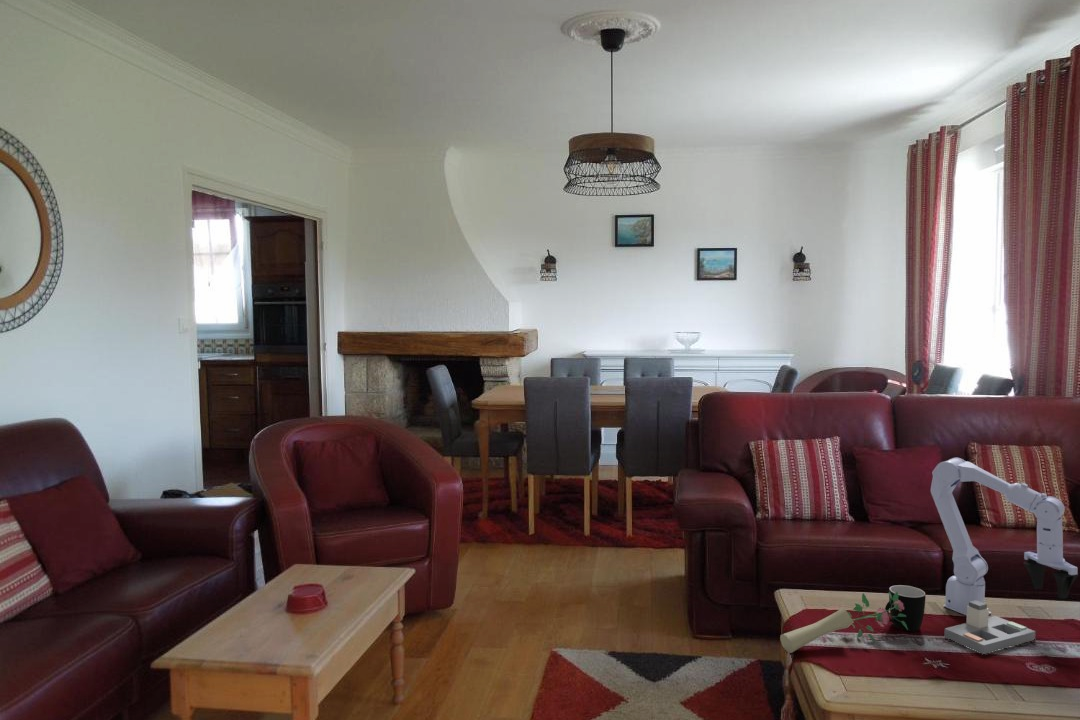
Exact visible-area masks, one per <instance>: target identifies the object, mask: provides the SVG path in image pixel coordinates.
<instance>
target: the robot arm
mask: <svg viewBox="0 0 1080 720" xmlns="http://www.w3.org/2000/svg"><path fill="white" fill-rule="evenodd" d="M931 474H932V478H931V479H932V480H931V485H930V495H931V497H932V500H933V501H934V504H935V507H936V509H937V512H938V514H939V517H940V520H941V522H942V525H943V528H944V530H945V532H946V535H947V538H948V540H949V542H950V545H951V548H952V551H953V552H952V562H953V574H954V575H952V576H950V577H949V578H948V579H947V582H946V584H945V604H943V607H944V608H946V609H949V610H952V611H954V612H957V613H959V614H962V615H964V616H966V617H967V606H969V602H971V601H975V600H978V601H980V602H983V603H985V598H986V597H985V595H986V594H985V593H986V581H985V578H984V576H985V575H986V574H987V573H988V570H989V566H988V562H987V561H986V560H985V559H984V558H983V557H982V555H981V554H980V551H979V549H978V548H976V547H975V546H974V545H973V543H972V540H971V538H970V535H969V533H968V530H967V527H966V525H965V522H964V520H963V517H962V515H961V512H960V510H959V507H958V504H957V502H956V499H955V497H954V495H953V491H954V490H955V488H956V487H957V485H958V484H959V483H960V482H961V483H963V482H965V483H966V482H976V483H978V484H980V485H982V486H985V487H987V488H989V489H991V490H993V491H996V492H998V493H1000V494H1002V495H1004V497H1005V499H1006V500H1007V502H1009V503H1011V504H1013V505H1015V506H1017V507H1019V508H1021V509H1024V510H1026V511H1028V512H1029V513H1032V514H1034V516H1035V518H1037V519H1036V522H1037V523H1036V552H1032V551H1025V552H1023V554H1024V555H1023V556H1024V557H1023V558H1024V559H1023V560H1027V561H1024V562H1023V566H1024V567H1025V569H1026V570H1027V572H1028V575H1029V577H1030V580H1031V583H1032V586H1033V589H1034V590H1042V589H1043V587H1044V574H1045V570H1046V568H1047V567H1048V568H1049V567H1050V568H1052V569H1055V570H1059V571H1054V572H1053V573H1052V574H1053V576H1054V578H1055V582H1056V587H1057V596H1058V599H1060V600H1064V599H1065V600H1066V599H1068V597H1069V593H1070V590H1071V588H1072V585H1073V584H1074V582H1075V581H1076V580H1077V578H1078V577H1079V573H1078V570H1079V569H1078V566H1075V565H1073V564H1071V563H1069V562H1067V561H1066V559H1065V558H1064V544H1063V543H1064V541H1063V538H1064V537H1063V536H1064V532H1063V531H1064V529H1063V518H1062V516H1064V514H1065V510H1066V508H1065V505H1064V503H1063V501H1061V500H1060V499H1059V498H1058V497H1056V496H1047V493H1044V492H1043V493H1041V492H1038V491H1036V490H1035V489H1031V488H1030V487H1029V485H1028V484H1027V483H1025V482H1023V483H1019V482H1015V483H1009V482H1008V481H1006V480H1004V479H1002V478H1000V477H998V476H996V475H995V474H992V473H991V472H989V471H987V470H984V469H983V468H981V467H979V466H978V465H976V464H974V463H972V462H971V461H968V460H967V461H966V460H964V458H960V457H952V458H949V459H948V460H945V461H941V462H939V463H937V464H936V466H935V468H934V469H933V470H932V472H931ZM991 614H992V611H989V615H991Z"/></svg>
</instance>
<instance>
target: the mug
mask: <svg viewBox="0 0 1080 720" xmlns="http://www.w3.org/2000/svg"><path fill="white" fill-rule="evenodd" d="M888 592H889V593H890V594H891V596H892V598H893V596H894V594H895V593H896V592H898V600H900V601H901V602H902V603H903V607H904V610H903V609H901V610H902V611H899V610H898V609H897V610H896V608H894V609H891V608H893V607H894V602H895V601H894V602H893V600H892V599H891V598H890V596H889V595H888V602H887V603H886V604H885V608H884V609H886V611H887V610H889V609H891V610H889V611H887V613H888V614H889V615H891V616H889V621H888V622H891V623H892V625H893V627H894V628H896V629H898V630H899V631H900V630H901V631H903V630H904V632H910V631H913V632H918V631H919V630H920V629H921V627H922V623H923V620H924V616H925V608H926V592H925V591H924V590H922V589H921V588H918V587H916V586H915V587H914V586H911V585H902V584H898V585H892V586H890V587H889V589H888ZM889 593H888V594H889ZM890 601H891V603H890ZM892 603H893V604H892ZM891 604H892V605H891ZM891 606H892V607H891ZM898 614H904V615H906V616H905V617H899V616H898ZM892 616H893V617H894V618H893V617H892ZM897 616H898V617H897ZM896 619H897V620H896ZM898 620H899V621H898ZM900 621H904V622H905V624H906V625H907V628H908V630H907V629H906V627H905V626H904V625H903V624H902V623H901V622H900Z"/></svg>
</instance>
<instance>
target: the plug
mask: <svg viewBox="0 0 1080 720" xmlns="http://www.w3.org/2000/svg"><path fill="white" fill-rule="evenodd" d="M989 609H990V608H988V603H985V602H984V603H983V602H980V601H978V600H975V601H971V602H969V606H967V616H966V623H967V624H969V625H972V626H974V627H977V628H983V627H987V626H988V617H990V616H989V615H990V614H989Z"/></svg>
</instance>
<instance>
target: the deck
mask: <svg viewBox="0 0 1080 720" xmlns="http://www.w3.org/2000/svg"><path fill="white" fill-rule="evenodd" d="M1005 632H1006V633H1005ZM1007 633H1009V634H1007ZM943 634H944V635H943V637H946V638H945V639H947V638H949V639H951V640H954V641H956V642H958V643H960V644H963V645H965V646H967V647H969V648H971V649H974V650H976V651H978V652H980V653H982V654H981V655H983V654H985V653H989V652H992V651H995V650H998V649H1002V648H1006V647H1009V646H1013V645H1017V644H1020V643H1023V642H1027V641H1031V640H1034V639H1035V640H1036V630H1033V629H1031V628H1028V627H1027V626H1026V625H1025V626H1024V625H1023V624H1019V623H1017V622H1014V621H1010V620H1007V619H1005V618H1002V617H999V616H997V615H992V616H989V617H988V626H987V627H983V628H977V627H974V626H972V625H969V624H967V622H965V623H961V624H957V625H954V626H953V625H952V626H949V627H946V628H945V627H944V633H943ZM949 639H948V640H949ZM983 639H985V640H983ZM951 640H950V641H951ZM986 640H987V641H986ZM956 642H955V643H956ZM958 643H957V644H958ZM960 644H959V645H960ZM965 646H964V647H965ZM1017 646H1018V645H1017ZM967 647H966V648H967ZM969 648H968V649H969ZM971 649H970V650H971ZM974 650H973V651H974ZM976 651H975V652H976ZM978 652H977V653H978ZM980 653H979V654H980ZM992 653H993V652H992ZM989 654H990V653H989ZM985 655H986V654H985Z"/></svg>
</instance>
